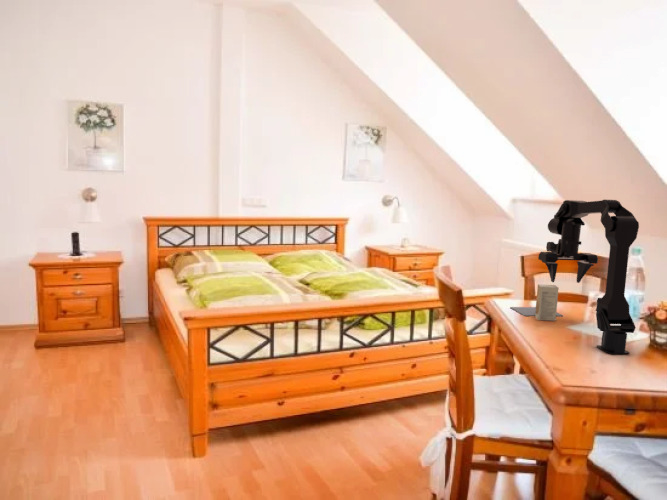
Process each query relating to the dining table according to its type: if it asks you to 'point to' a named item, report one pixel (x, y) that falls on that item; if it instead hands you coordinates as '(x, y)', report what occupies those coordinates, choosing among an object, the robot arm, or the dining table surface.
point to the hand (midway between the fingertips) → (565, 282)
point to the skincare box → (546, 302)
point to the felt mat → (528, 311)
